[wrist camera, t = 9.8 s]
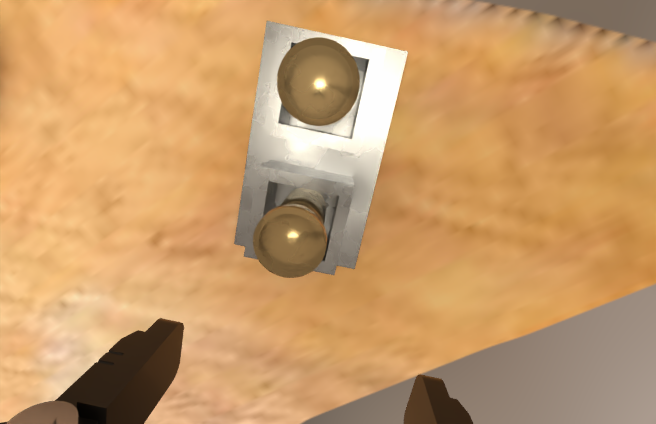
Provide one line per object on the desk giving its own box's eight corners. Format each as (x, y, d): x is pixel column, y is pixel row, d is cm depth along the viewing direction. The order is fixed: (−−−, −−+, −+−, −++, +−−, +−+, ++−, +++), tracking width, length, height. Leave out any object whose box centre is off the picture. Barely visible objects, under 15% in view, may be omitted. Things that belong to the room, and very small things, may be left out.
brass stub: (335, 188, 31) (333, 216, 21) (324, 237, 32) (318, 284, 22) (284, 178, 31) (258, 200, 21) (275, 226, 32) (248, 269, 22)
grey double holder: (405, 54, 29) (444, 10, 18) (354, 264, 34) (360, 328, 23) (269, 25, 29) (227, -38, 18) (237, 240, 34) (189, 293, 23)
